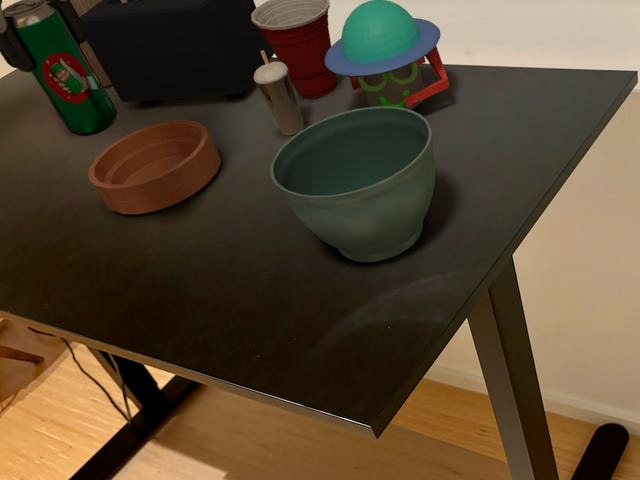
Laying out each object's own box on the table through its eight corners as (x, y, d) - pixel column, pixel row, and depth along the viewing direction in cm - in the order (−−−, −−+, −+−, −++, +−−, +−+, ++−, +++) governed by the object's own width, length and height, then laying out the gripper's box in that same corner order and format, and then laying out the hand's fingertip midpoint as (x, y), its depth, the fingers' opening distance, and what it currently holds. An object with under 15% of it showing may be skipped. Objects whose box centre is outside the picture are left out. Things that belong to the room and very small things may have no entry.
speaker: (279, 62, 116) (240, -38, 105) (245, 103, 108) (198, 0, 97) (167, 72, 122) (119, -22, 111) (126, 112, 114) (70, 15, 103)
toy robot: (346, 151, 92) (307, 43, 82) (346, 98, 103) (312, -5, 93) (461, 124, 92) (435, 11, 82) (449, 73, 102) (425, -33, 92)
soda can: (84, 116, 76) (12, -1, 68) (128, 110, 76) (60, -10, 67) (63, 142, 73) (-16, 21, 64) (108, 135, 72) (35, 12, 64)
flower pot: (374, 180, 86) (345, 95, 79) (483, 209, 78) (463, 117, 70) (280, 262, 79) (237, 177, 71) (390, 303, 70) (355, 212, 63)
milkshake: (306, 114, 102) (278, 44, 94) (312, 131, 98) (283, 59, 91) (275, 125, 101) (245, 55, 94) (279, 142, 97) (249, 71, 90)
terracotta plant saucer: (156, 228, 88) (137, 198, 85) (85, 204, 96) (64, 175, 93) (246, 159, 96) (231, 128, 93) (173, 142, 104) (157, 113, 100)
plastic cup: (333, 108, 101) (303, 22, 93) (270, 108, 105) (235, 25, 97) (367, 70, 108) (341, -14, 99) (306, 71, 112) (276, -10, 103)
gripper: (-17, -181, 62) (93, 20, 74) (-185, -124, 55) (-33, 87, 67) (28, -185, 59) (136, 26, 71) (-146, -125, 51) (7, 98, 64)
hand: (53, 55), depth 69 cm, fingers closed on soda can, 5 cm apart
